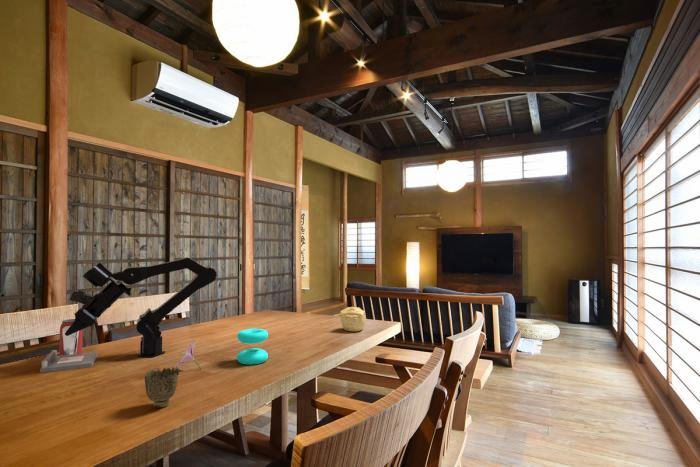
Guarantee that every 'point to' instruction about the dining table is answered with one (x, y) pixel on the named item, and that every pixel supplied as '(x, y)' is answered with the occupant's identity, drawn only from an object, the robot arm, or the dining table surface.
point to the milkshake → (70, 342)
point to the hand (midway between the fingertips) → (67, 333)
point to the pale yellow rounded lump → (353, 319)
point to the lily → (188, 355)
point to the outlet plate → (67, 361)
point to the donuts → (252, 354)
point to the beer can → (61, 346)
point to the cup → (161, 386)
